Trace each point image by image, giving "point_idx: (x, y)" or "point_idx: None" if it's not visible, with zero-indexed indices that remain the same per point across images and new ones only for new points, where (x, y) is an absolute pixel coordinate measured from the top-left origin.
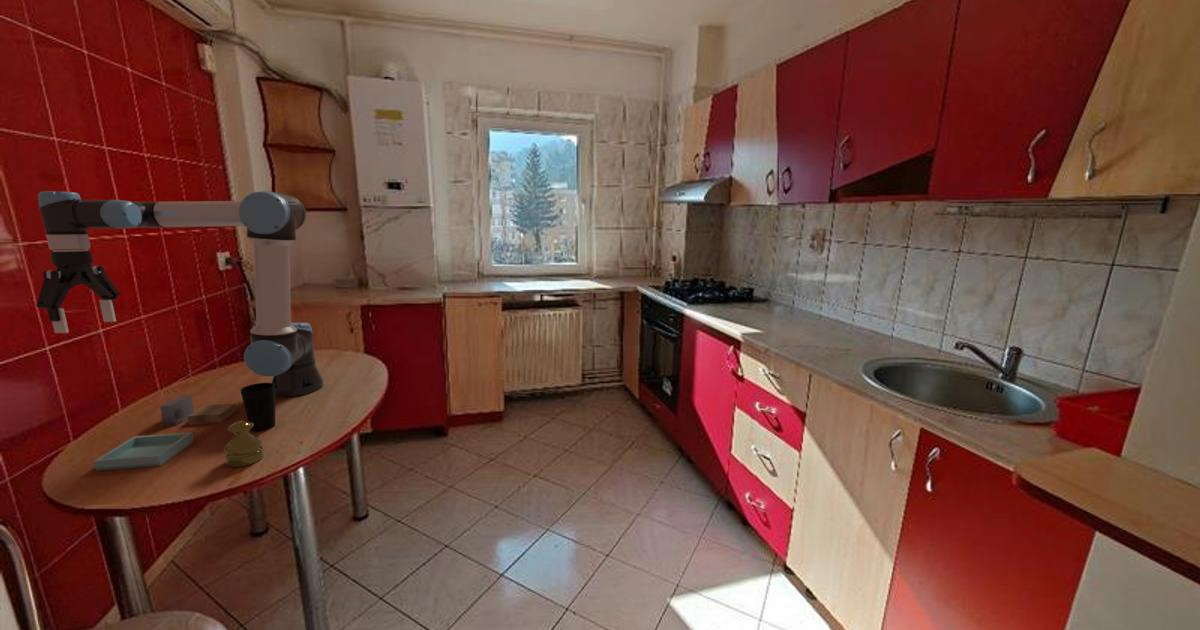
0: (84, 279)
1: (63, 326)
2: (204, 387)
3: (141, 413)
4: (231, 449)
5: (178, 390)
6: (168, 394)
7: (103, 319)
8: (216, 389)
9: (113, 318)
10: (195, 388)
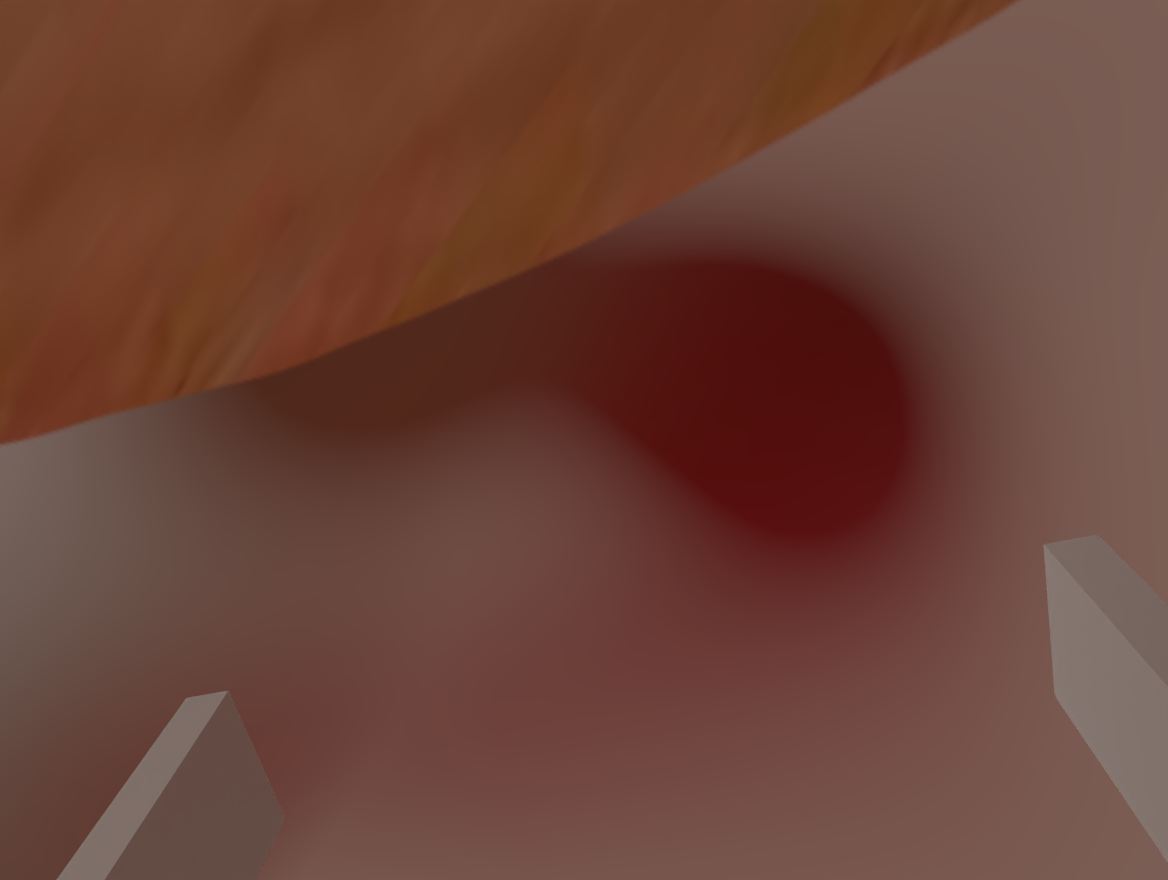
0: None
1: (1162, 614)
2: (27, 202)
3: (540, 133)
4: None
5: (142, 331)
6: (221, 320)
7: (266, 850)
8: (18, 59)
9: (194, 734)
10: (68, 249)
